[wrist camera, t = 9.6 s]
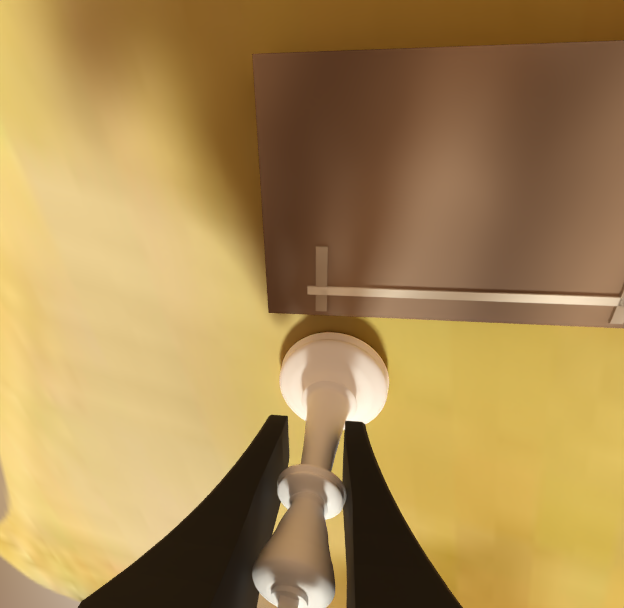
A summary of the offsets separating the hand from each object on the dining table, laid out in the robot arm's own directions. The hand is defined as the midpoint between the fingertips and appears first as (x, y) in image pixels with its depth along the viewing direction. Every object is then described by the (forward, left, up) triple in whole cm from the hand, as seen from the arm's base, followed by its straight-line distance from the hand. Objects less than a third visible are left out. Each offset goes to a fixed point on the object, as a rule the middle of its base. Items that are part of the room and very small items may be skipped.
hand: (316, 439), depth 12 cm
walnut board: (-7, -8, -4) cm, 11 cm away
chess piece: (0, 0, -4) cm, 4 cm away
